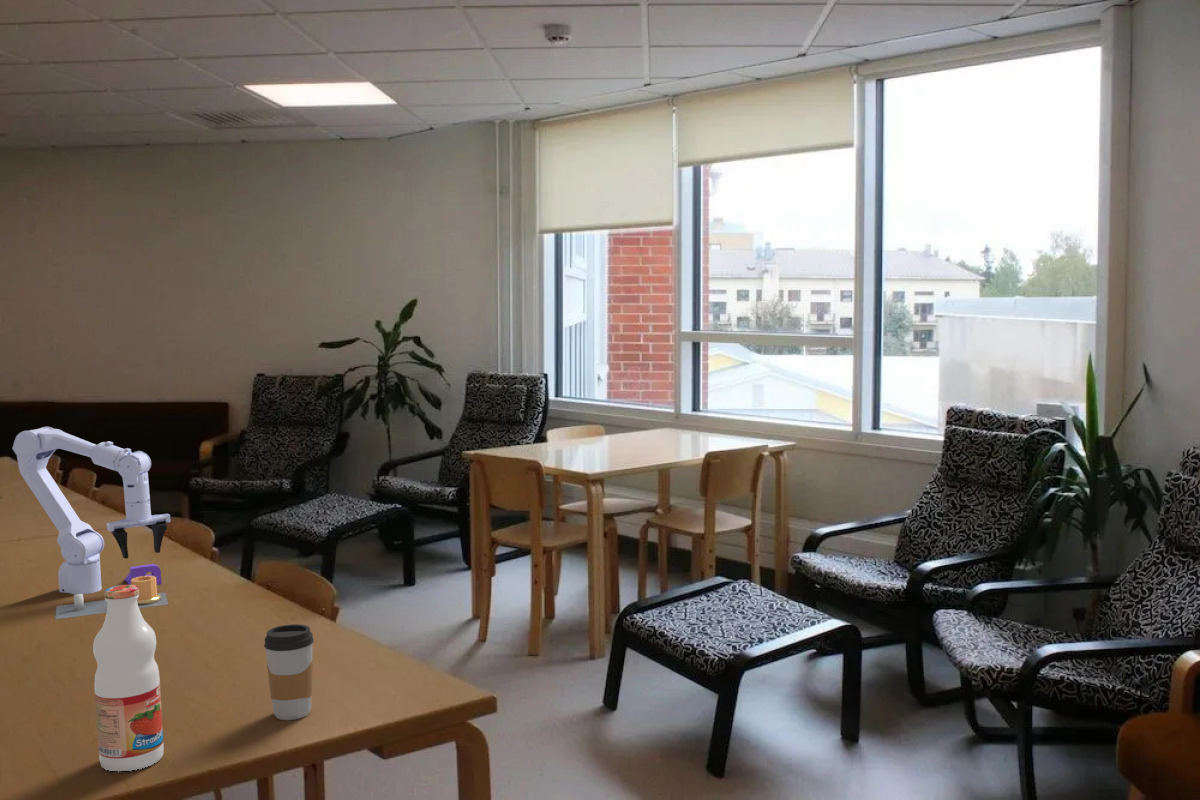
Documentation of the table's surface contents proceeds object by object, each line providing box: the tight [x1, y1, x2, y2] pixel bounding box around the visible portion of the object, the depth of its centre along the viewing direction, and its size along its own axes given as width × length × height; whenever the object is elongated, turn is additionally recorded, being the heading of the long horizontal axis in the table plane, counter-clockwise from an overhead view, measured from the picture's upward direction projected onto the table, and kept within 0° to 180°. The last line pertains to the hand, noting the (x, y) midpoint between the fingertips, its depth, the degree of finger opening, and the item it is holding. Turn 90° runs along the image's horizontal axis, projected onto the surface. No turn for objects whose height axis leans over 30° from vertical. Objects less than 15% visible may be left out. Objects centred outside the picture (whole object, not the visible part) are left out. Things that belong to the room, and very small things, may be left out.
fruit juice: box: [92, 584, 165, 773], centre depth 169 cm, size 9×9×28 cm
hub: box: [137, 580, 161, 605], centre depth 257 cm, size 7×7×5 cm
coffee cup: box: [263, 623, 314, 721], centre depth 187 cm, size 8×8×15 cm
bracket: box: [124, 563, 162, 586], centre depth 276 cm, size 12×7×7 cm, turn 33°
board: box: [55, 592, 169, 620], centre depth 254 cm, size 24×12×5 cm, turn 116°
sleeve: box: [131, 576, 158, 600], centre depth 256 cm, size 5×5×4 cm
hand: (141, 555), depth 266 cm, fingers open, 7 cm apart
